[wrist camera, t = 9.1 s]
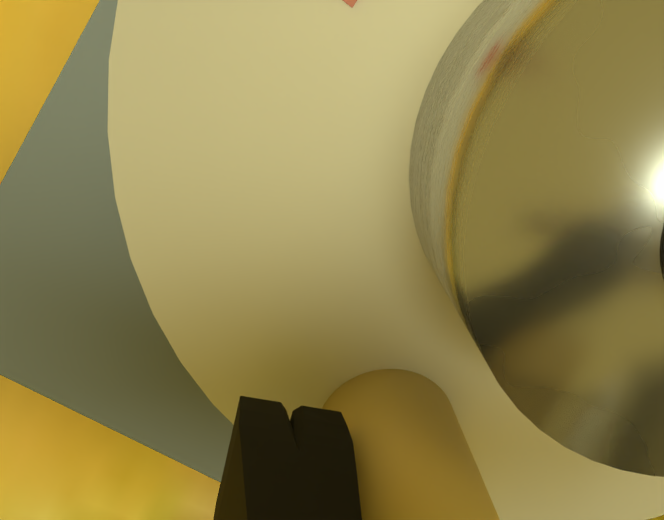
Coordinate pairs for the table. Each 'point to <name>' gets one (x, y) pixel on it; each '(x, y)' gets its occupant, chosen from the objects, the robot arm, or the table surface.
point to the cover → (555, 213)
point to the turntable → (323, 248)
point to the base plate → (90, 279)
